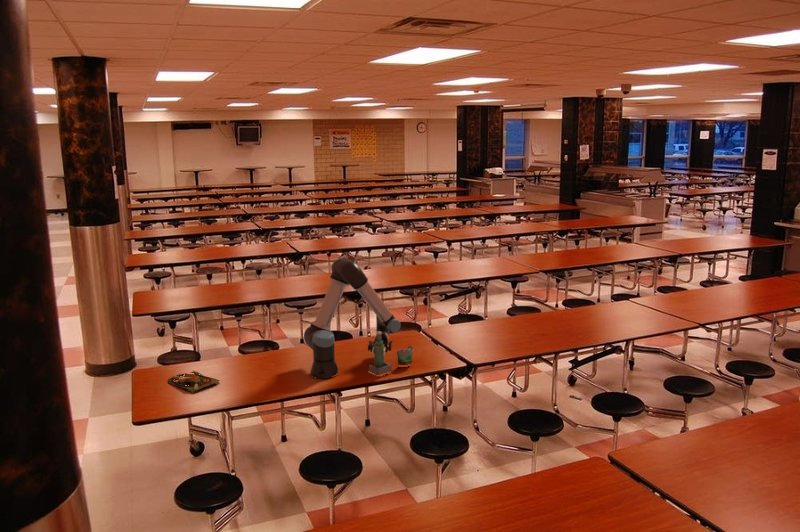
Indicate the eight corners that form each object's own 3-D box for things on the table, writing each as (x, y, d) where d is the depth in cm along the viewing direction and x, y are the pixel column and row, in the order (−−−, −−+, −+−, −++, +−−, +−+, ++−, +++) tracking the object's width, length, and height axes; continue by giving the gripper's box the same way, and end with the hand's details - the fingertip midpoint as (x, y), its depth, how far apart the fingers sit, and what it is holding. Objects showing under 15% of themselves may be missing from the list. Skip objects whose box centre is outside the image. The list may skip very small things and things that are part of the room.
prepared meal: (162, 376, 329) (193, 366, 343) (163, 382, 330) (193, 372, 344) (191, 391, 312) (222, 380, 325) (192, 397, 313) (222, 386, 326)
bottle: (372, 368, 341) (371, 331, 337) (380, 366, 345) (380, 329, 340) (378, 371, 337) (377, 334, 333) (386, 369, 340) (386, 332, 336)
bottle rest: (366, 372, 342) (366, 363, 341) (381, 368, 348) (381, 360, 347) (377, 377, 334) (377, 369, 333) (392, 373, 340) (391, 365, 339)
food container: (405, 370, 345) (405, 353, 343) (396, 367, 349) (396, 350, 347) (418, 363, 355) (418, 347, 353) (409, 361, 358) (409, 345, 356)
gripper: (397, 346, 356) (395, 359, 334) (365, 345, 357) (361, 359, 335) (397, 333, 355) (395, 346, 332) (365, 333, 356) (361, 346, 333)
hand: (378, 353), depth 333 cm, fingers closed on bottle, 5 cm apart
